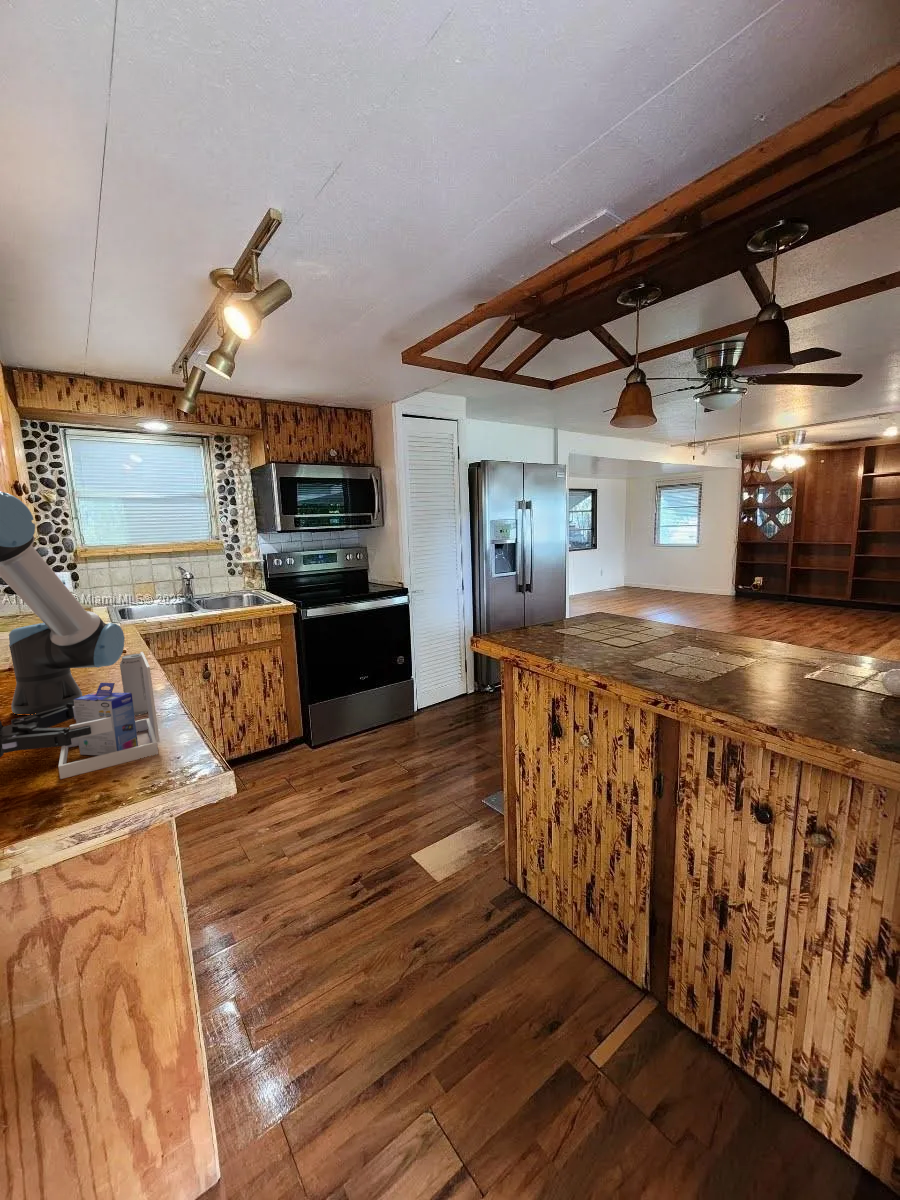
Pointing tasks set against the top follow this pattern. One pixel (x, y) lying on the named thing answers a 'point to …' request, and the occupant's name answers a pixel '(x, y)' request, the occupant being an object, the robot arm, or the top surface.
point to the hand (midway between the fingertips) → (111, 714)
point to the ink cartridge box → (103, 707)
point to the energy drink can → (134, 681)
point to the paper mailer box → (121, 755)
